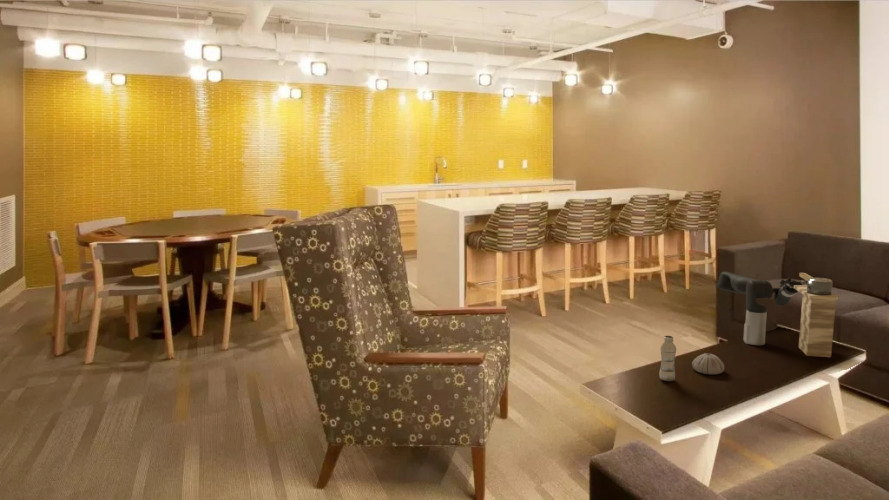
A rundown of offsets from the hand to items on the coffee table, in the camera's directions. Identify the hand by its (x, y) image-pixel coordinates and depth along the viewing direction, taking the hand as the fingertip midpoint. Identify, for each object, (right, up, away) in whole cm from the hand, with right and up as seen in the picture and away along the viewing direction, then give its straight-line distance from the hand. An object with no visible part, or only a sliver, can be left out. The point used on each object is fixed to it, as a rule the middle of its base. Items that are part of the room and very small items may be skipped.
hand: (799, 279), depth 288 cm
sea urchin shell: (-68, -40, -39) cm, 88 cm away
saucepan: (-5, -3, -16) cm, 17 cm away
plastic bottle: (-90, -42, -48) cm, 110 cm away
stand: (-5, -34, -16) cm, 38 cm away
